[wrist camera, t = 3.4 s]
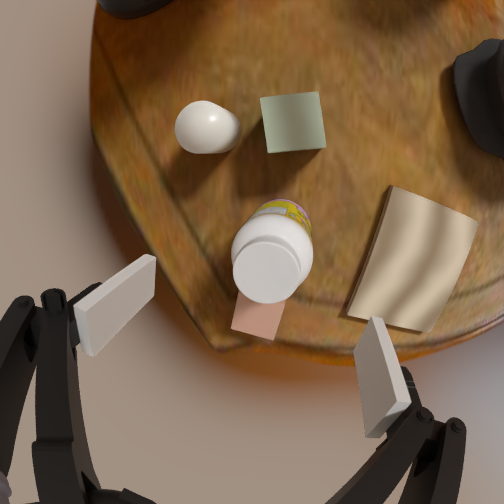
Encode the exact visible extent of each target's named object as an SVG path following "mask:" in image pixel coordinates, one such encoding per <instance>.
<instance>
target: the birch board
mask: <svg viewBox="0 0 504 504" xmlns="http://www.w3.org/2000/svg"><path fill="white" fill-rule="evenodd" d="M478 224H479V222H478V221H476V220H474V219H472V218H469V217H467V216H465V215H463V214H461V213H459V212H457V211H454V210H452V209H450V208H448V207H445V206H443V205H441V204H438V203H436V202H434V201H431V200H429V199H426V198H424V197H421V196H419V195H416V194H414V193H411V192H409V191H406V190H403V189H401V188H398V187H395V186H392V185H390V187H389V190H388V194H387V197H386V201H385V204H384V208H383V211H382V214H381V217H380V220H379V223H378V227H377V230H376V233H375V236H374V239H373V241H372V244H371V247H370V250H369V253H368V256H367V258H366V261H365V264H364V266H363V269H362V272H361V274H360V277H359V279H358V282H357V284H356V287H355V289H354V292H353V294H352V297H351V299H350V302H349V304H348V306H347V309H346V312H347V315H349V316H354V317H358V318H362V319H367V320H369V319H370V317H371V316H375V317H379V318H382V319H383V321H384V324H389V325H394V326H398V327H403V328H408V329H413V330H417V331H422V332H427V333H430V332H431V330H432V329H433V327H434V325H435V323H436V321H437V320H438V318H439V316H440V314H441V312H442V310H443V308H444V306H445V304H446V302H447V300H448V298H449V296H450V294H451V292H452V290H453V288H454V286H455V284H456V281H457V279H458V277H459V275H460V272H461V270H462V268H463V265H464V263H465V260H466V258H467V255H468V253H469V250H470V247H471V245H472V242H473V239H474V236H475V233H476V231H477V228H478Z"/></svg>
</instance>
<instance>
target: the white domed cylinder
mask: <svg viewBox="0 0 504 504" xmlns="http://www.w3.org/2000/svg"><path fill="white" fill-rule="evenodd" d="M175 135H176V138H177V141H178V142H179V144H180V145H181V146H182V147H183V148H184V149H185V150H187V151H189V152H191V153H196V154H204V153H224V152H227V151H229V150H231V149H232V148H234V147H235V146H236V144H237V143H238V141H239V139H240V137H241V124H240V122H239V120H238V118H237V117H236V116H235V115H234V114H233V113H231V112H229V111H227V110H225V109H224V108H222V107H220V106H218V105H216V104H214V103H212V102H209V101H197V102H193V103H191V104H189V105H188V106H186V107H185V108H184V109H183V110H182V111H181V112H180V114H179V115H178V117H177V120H176V123H175Z"/></svg>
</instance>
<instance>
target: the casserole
mask: <svg viewBox="0 0 504 504" xmlns="http://www.w3.org/2000/svg"><path fill="white" fill-rule="evenodd" d="M453 80H454V88H455V93H456V97H457V102H458V105H459V108H460V111H461V114H462V117H463V119H464V121H465V124H466V126H467V128H468V131H469V133H470V134H471V136H472V138H473V139H474V141H475V143H476V144H477V145H478V146H479V147H480V148H481V149H482V150H483V151H485V152H488V153H491V154H493V155H496V156H498V157H501V158H503V159H504V39H503V40H500V39H488V40H484V41H483V42H482V43H481V44H480V45H478V46H477V47H476V48H475V49H474V50H472V51H469V52H466V53H464V54H461V55H459V56H457V58H456V60H455V61H454V64H453Z"/></svg>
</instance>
